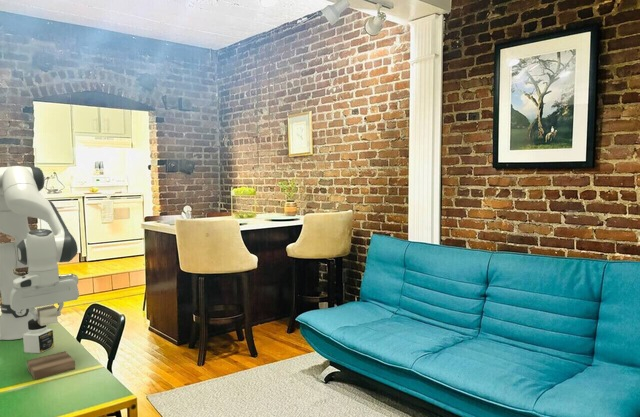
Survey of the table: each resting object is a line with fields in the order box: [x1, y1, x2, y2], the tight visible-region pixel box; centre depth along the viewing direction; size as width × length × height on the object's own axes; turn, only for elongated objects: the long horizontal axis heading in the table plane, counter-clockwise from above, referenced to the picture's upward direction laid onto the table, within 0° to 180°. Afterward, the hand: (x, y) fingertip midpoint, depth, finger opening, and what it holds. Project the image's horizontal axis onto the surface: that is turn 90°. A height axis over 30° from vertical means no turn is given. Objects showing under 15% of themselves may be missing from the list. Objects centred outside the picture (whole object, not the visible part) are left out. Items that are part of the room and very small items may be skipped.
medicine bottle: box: [22, 319, 55, 354], centre depth 182 cm, size 7×7×12 cm
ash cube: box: [36, 304, 59, 326], centre depth 162 cm, size 5×5×5 cm
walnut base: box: [26, 350, 76, 381], centre depth 164 cm, size 12×12×3 cm
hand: (47, 317), depth 162 cm, fingers closed on ash cube, 5 cm apart
